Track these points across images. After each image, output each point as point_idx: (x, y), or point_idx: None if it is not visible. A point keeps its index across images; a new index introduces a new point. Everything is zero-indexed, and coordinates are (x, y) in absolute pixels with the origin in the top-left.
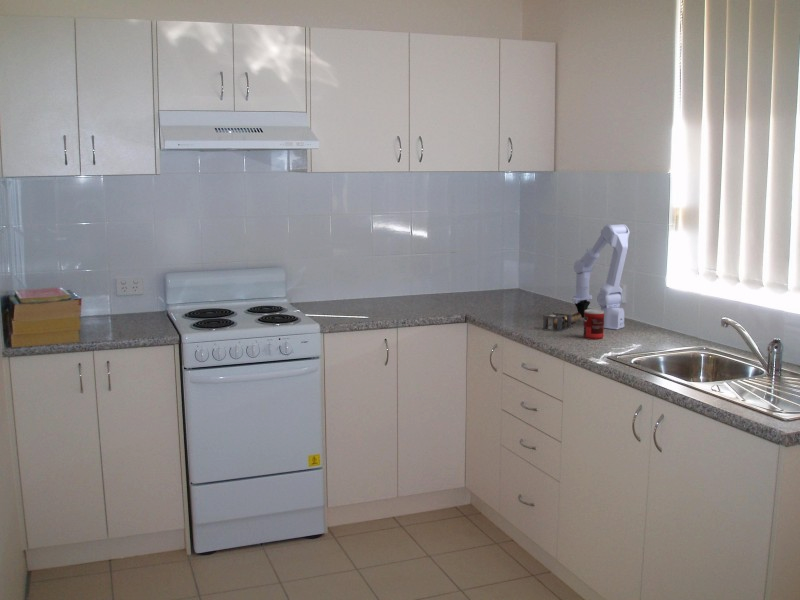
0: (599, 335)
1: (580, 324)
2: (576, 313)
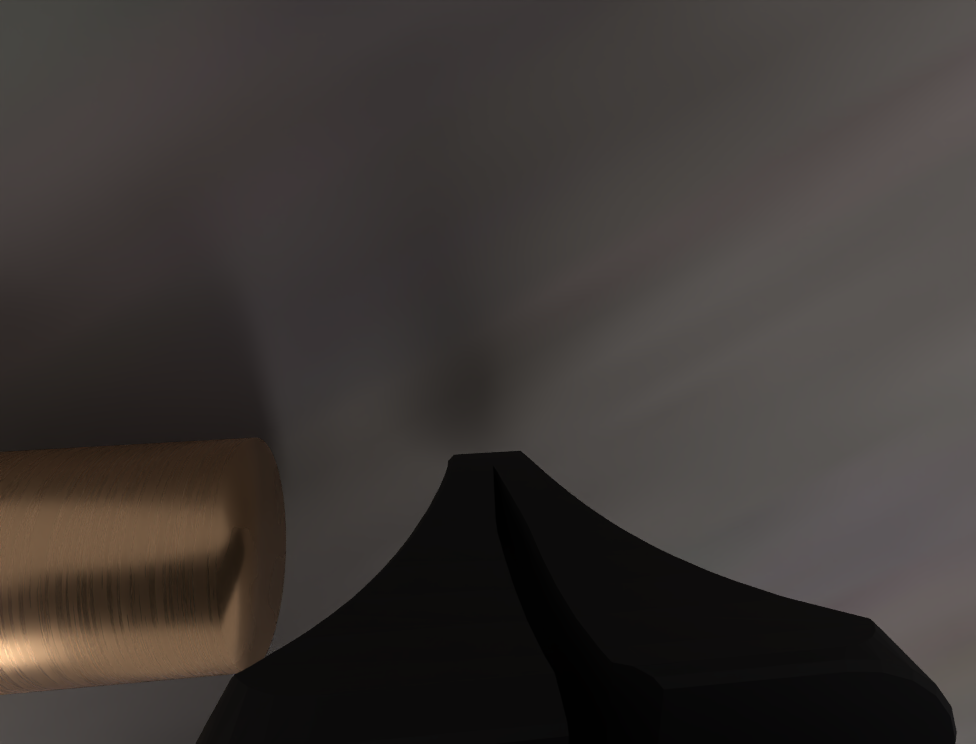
0: None
1: None
2: (51, 674)
